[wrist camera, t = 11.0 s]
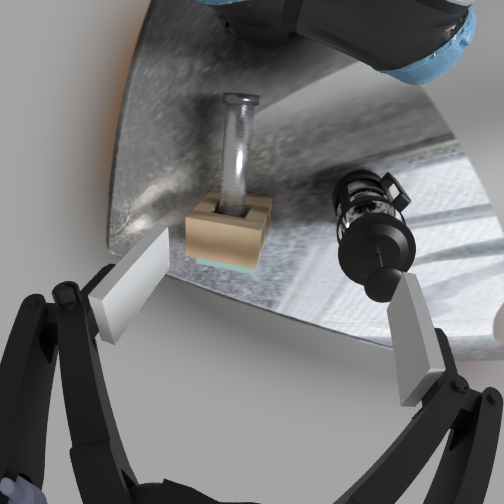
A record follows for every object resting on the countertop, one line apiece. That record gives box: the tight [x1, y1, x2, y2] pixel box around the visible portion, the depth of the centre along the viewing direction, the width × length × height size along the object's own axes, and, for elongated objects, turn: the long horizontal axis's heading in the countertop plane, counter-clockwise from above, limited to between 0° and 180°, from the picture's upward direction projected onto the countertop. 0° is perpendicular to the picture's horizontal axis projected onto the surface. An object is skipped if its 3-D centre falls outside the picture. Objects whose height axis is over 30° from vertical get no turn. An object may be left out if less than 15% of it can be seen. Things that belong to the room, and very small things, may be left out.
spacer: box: [197, 246, 264, 275], centre depth 50 cm, size 3×9×9 cm, turn 84°
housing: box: [185, 187, 274, 270], centre depth 46 cm, size 6×10×12 cm, turn 84°
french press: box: [333, 170, 416, 303], centre depth 36 cm, size 12×9×23 cm
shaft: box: [219, 93, 260, 218], centre depth 41 cm, size 21×5×5 cm, turn 174°
